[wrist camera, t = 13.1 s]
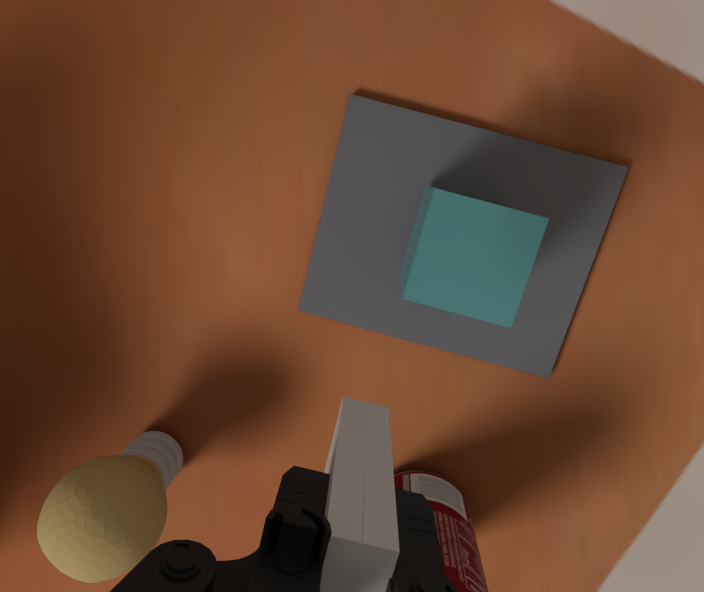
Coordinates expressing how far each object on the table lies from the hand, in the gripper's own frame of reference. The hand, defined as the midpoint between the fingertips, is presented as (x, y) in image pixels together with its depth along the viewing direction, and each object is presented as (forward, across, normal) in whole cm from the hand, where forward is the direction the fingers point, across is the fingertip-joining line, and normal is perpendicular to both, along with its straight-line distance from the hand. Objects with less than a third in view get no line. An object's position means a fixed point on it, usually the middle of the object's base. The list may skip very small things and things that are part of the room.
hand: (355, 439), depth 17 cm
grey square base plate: (+16, +4, +6) cm, 17 cm away
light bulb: (+17, -11, -13) cm, 24 cm away
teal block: (+15, +4, +6) cm, 16 cm away
